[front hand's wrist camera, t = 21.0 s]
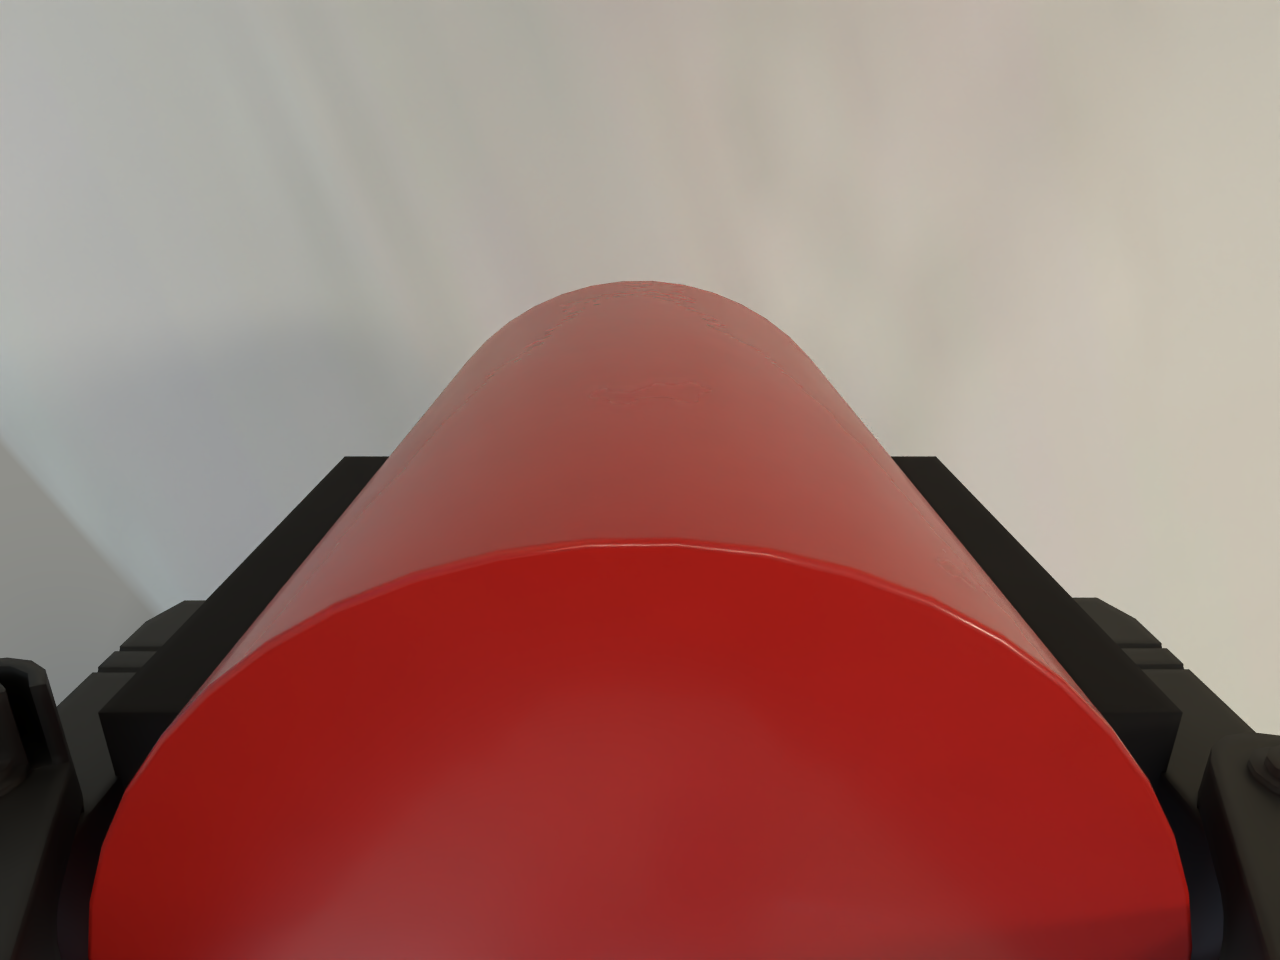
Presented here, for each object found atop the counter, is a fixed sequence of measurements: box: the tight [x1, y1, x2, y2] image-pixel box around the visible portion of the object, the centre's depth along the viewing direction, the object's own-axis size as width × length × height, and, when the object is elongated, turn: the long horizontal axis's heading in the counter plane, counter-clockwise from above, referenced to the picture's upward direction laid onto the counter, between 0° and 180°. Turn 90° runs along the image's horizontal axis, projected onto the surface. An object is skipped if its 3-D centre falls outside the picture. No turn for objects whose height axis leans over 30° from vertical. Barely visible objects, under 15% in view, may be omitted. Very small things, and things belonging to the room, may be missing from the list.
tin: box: [88, 281, 1192, 960], centre depth 11 cm, size 8×8×10 cm
